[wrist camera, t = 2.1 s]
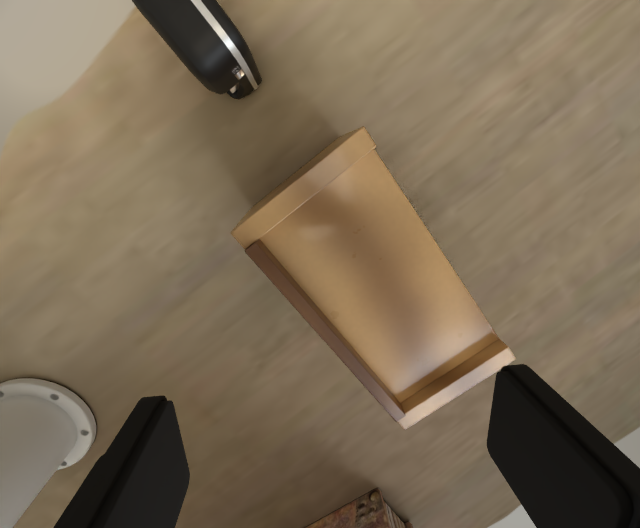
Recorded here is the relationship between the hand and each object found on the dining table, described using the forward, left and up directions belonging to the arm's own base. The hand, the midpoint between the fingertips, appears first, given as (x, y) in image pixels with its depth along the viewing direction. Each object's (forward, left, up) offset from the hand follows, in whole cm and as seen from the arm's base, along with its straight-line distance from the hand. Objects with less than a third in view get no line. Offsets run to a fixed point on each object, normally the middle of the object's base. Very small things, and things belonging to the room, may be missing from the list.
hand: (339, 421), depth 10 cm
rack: (+6, -2, -26) cm, 26 cm away
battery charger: (-9, +14, -26) cm, 31 cm away
